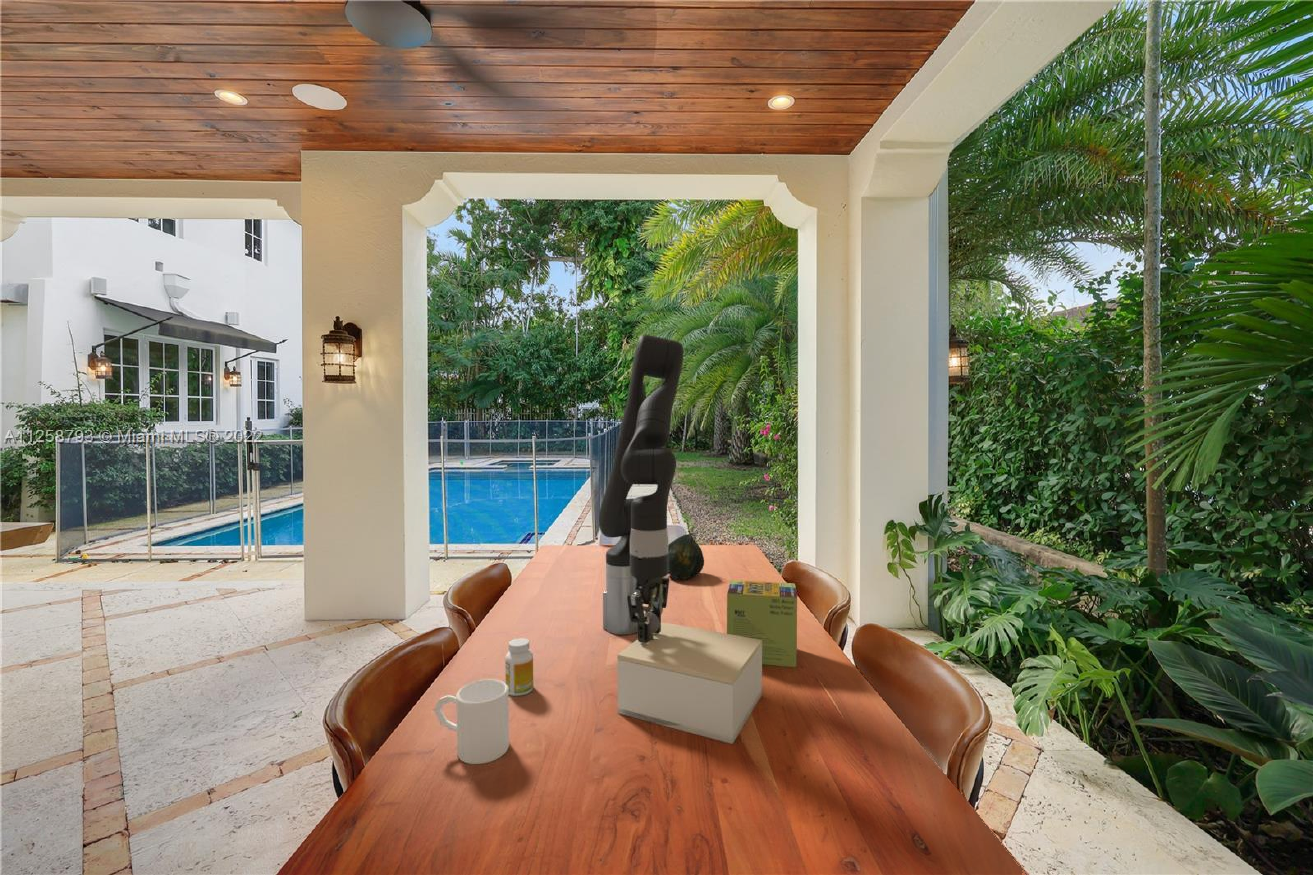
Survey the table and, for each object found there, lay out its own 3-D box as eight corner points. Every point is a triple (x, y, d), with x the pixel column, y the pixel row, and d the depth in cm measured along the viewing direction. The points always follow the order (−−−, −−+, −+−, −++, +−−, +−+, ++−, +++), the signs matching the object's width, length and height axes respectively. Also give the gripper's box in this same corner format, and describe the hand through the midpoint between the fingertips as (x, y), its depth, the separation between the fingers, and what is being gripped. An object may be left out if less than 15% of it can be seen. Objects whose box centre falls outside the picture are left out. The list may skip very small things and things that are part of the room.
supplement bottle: (538, 685, 112) (538, 638, 112) (523, 698, 107) (523, 649, 106) (515, 681, 114) (515, 635, 113) (500, 694, 109) (499, 645, 108)
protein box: (797, 668, 120) (798, 597, 119) (726, 662, 123) (726, 592, 122) (795, 648, 130) (795, 582, 129) (729, 643, 133) (729, 579, 132)
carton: (617, 713, 101) (617, 659, 101) (660, 672, 118) (660, 626, 117) (732, 744, 92) (732, 685, 91) (761, 695, 108) (762, 644, 107)
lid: (617, 659, 101) (617, 627, 101) (660, 625, 117) (660, 598, 117) (732, 684, 91) (732, 649, 91) (762, 644, 107) (762, 614, 107)
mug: (444, 735, 95) (443, 678, 94) (514, 735, 95) (513, 678, 94) (424, 765, 87) (423, 703, 86) (501, 764, 87) (500, 703, 86)
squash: (650, 565, 182) (680, 532, 181) (657, 555, 197) (685, 525, 195) (681, 595, 180) (712, 562, 179) (687, 583, 195) (715, 552, 194)
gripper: (648, 541, 116) (648, 622, 116) (613, 556, 103) (614, 647, 103) (681, 544, 112) (681, 627, 113) (649, 561, 99) (650, 655, 100)
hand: (649, 636), depth 108 cm, fingers open, 4 cm apart
